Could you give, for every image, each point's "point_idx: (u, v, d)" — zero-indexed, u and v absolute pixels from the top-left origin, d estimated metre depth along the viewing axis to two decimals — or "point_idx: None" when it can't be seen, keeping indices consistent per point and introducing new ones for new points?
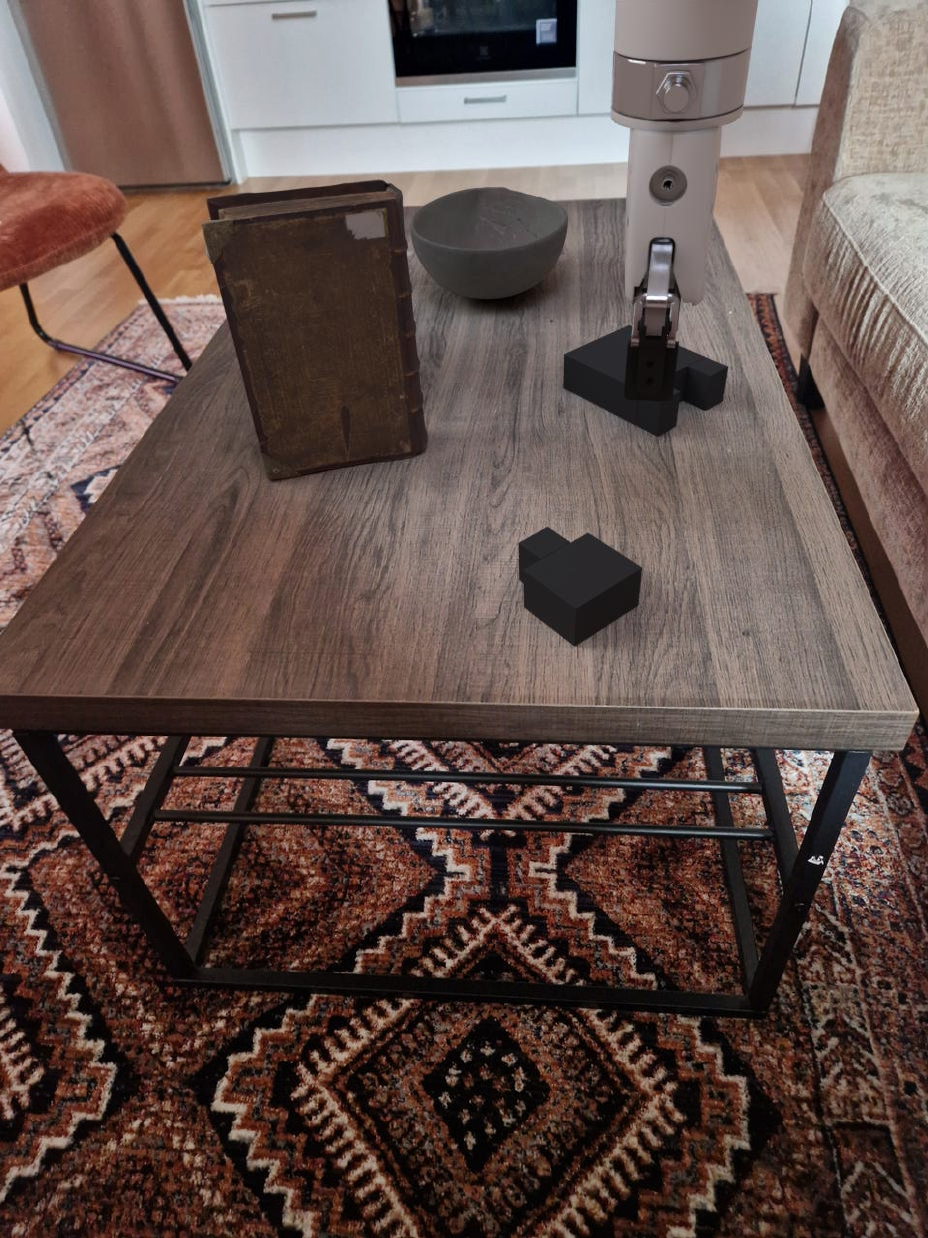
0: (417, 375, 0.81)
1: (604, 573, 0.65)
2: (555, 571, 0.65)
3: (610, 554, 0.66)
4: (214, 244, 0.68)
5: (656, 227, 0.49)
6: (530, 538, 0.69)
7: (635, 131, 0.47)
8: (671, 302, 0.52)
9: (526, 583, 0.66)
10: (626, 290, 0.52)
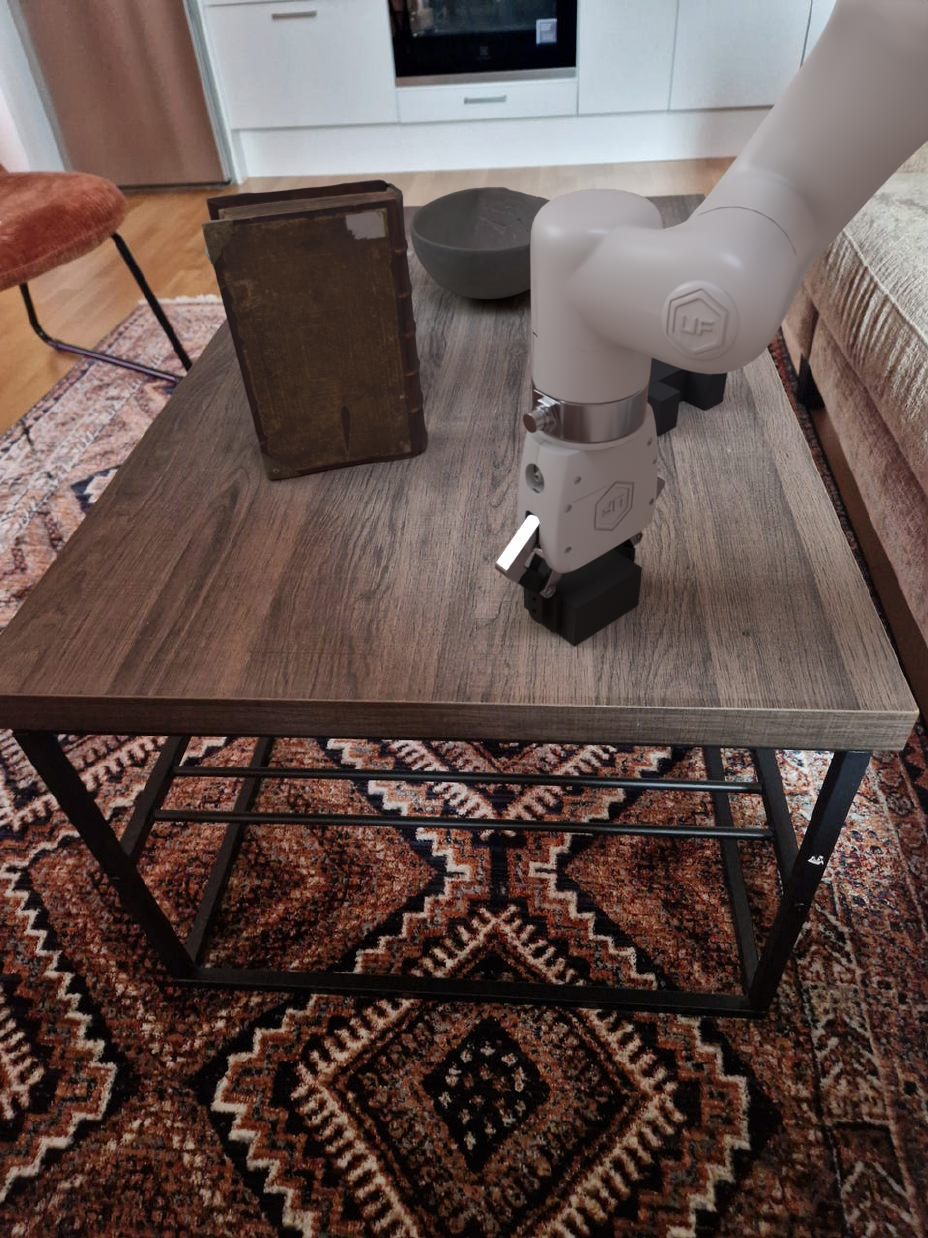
0: (417, 375, 0.81)
1: (604, 574, 0.65)
2: None
3: (610, 554, 0.66)
4: (214, 244, 0.68)
5: (528, 503, 0.58)
6: None
7: None
8: None
9: None
10: None
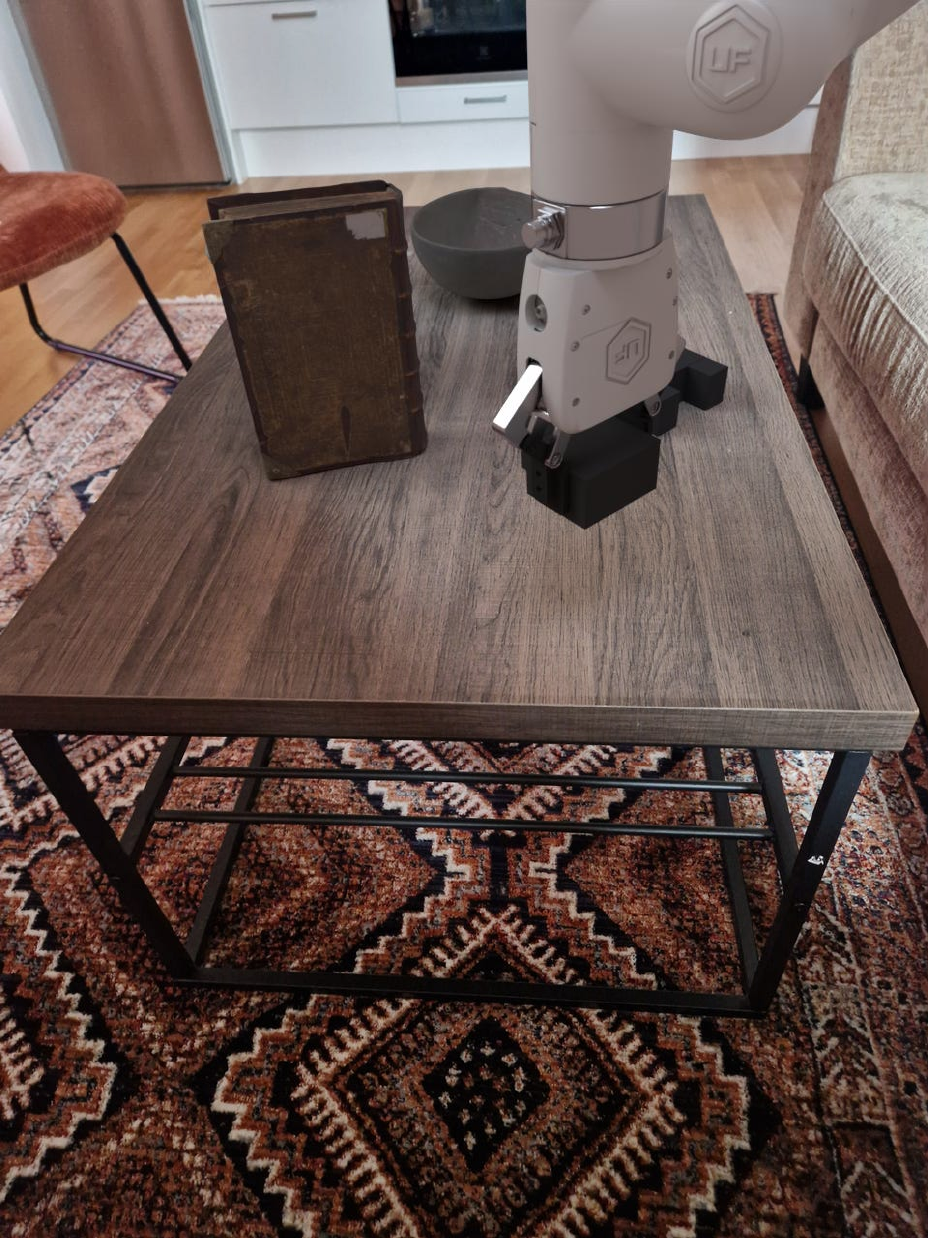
0: (417, 375, 0.81)
1: (618, 446, 0.57)
2: None
3: (624, 428, 0.58)
4: (214, 244, 0.68)
5: (529, 348, 0.50)
6: None
7: (529, 254, 0.48)
8: (555, 426, 0.53)
9: (529, 462, 0.58)
10: None
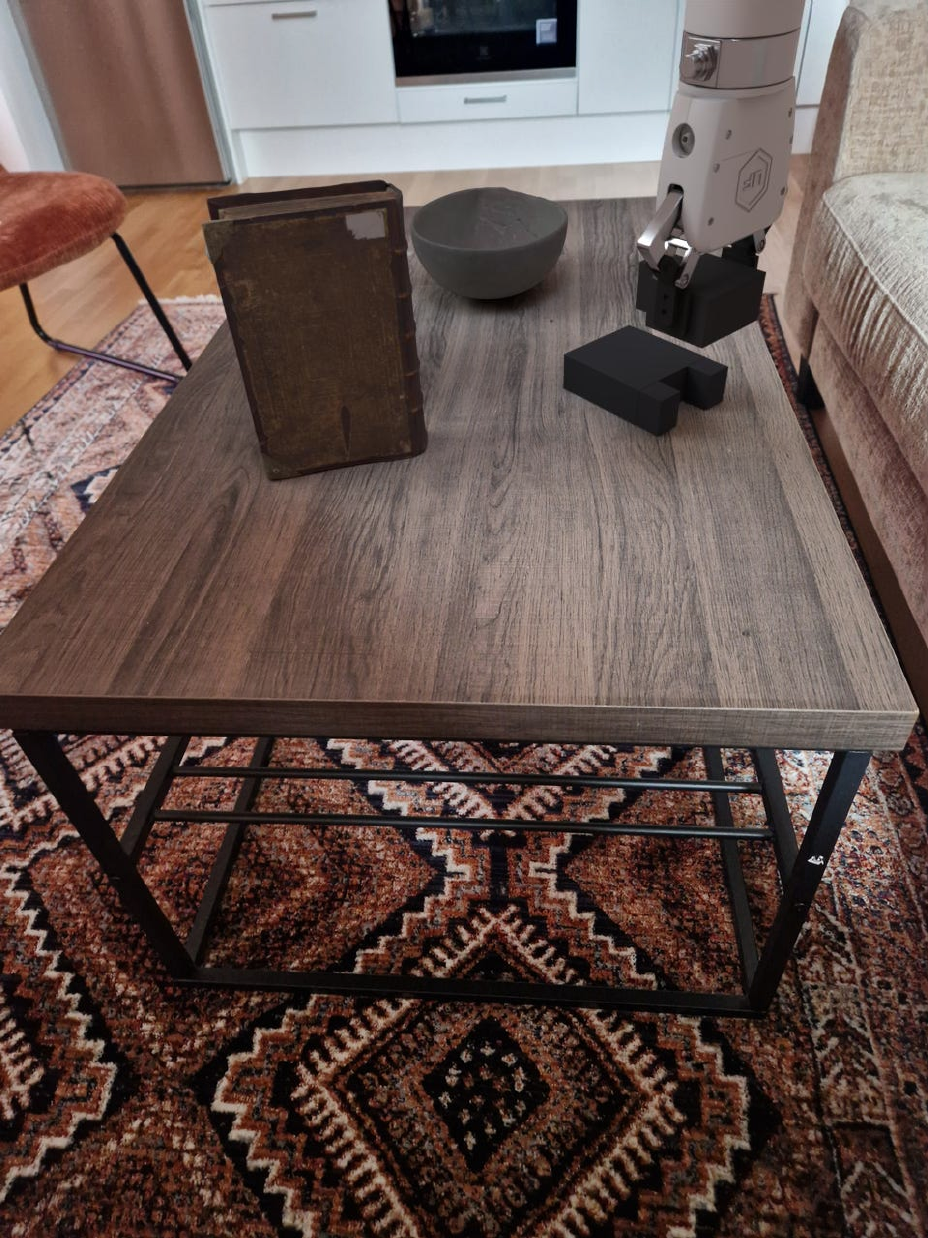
0: (417, 375, 0.81)
1: (730, 276, 0.66)
2: None
3: (733, 265, 0.68)
4: (214, 244, 0.68)
5: (673, 174, 0.59)
6: None
7: (677, 91, 0.58)
8: (686, 249, 0.63)
9: (651, 293, 0.68)
10: None
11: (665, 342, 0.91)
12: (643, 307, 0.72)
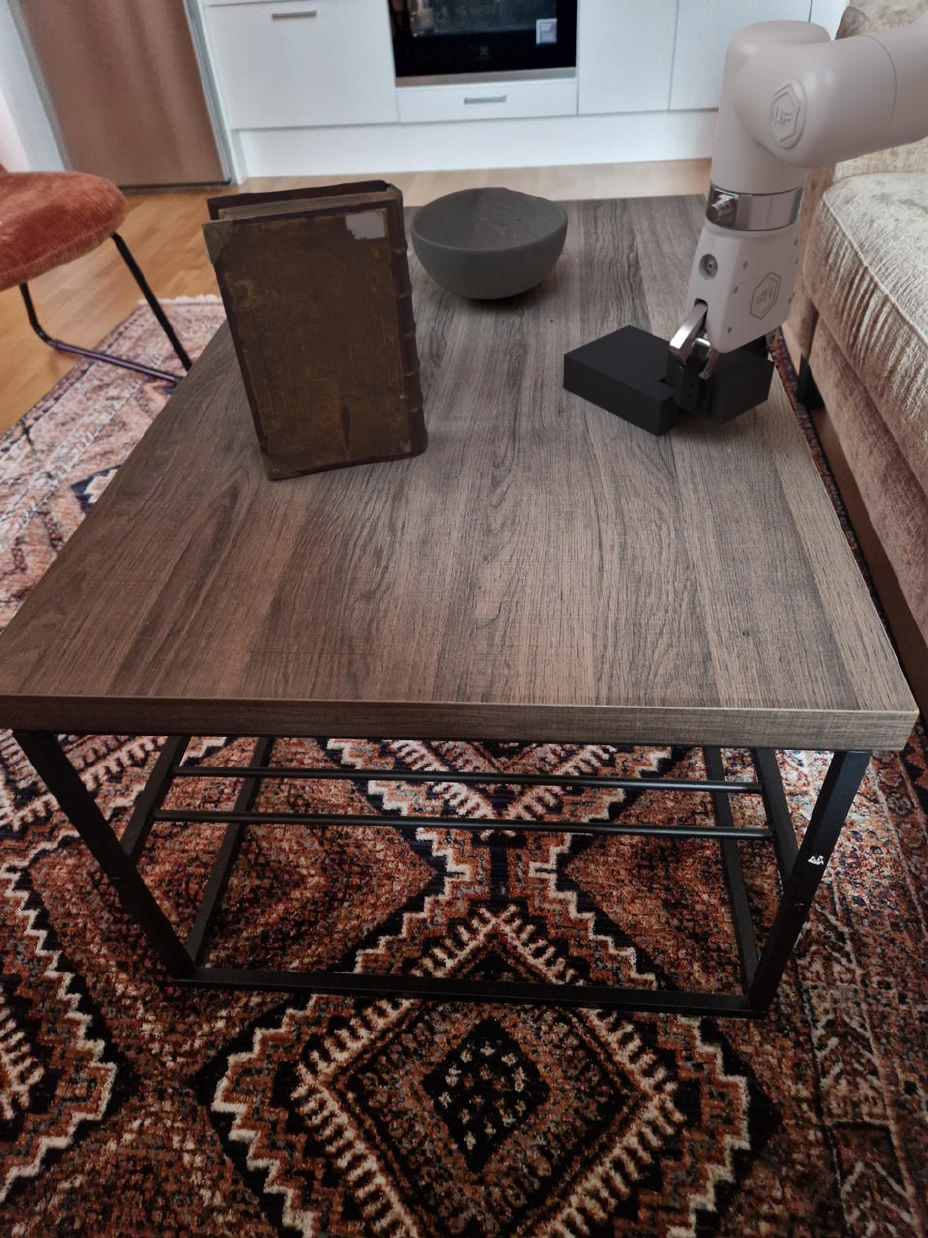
0: (417, 375, 0.81)
1: (745, 366, 0.80)
2: None
3: (747, 354, 0.81)
4: (214, 244, 0.68)
5: (699, 291, 0.73)
6: None
7: (704, 226, 0.71)
8: (709, 348, 0.76)
9: (678, 378, 0.81)
10: None
11: (665, 342, 0.91)
12: (671, 385, 0.85)
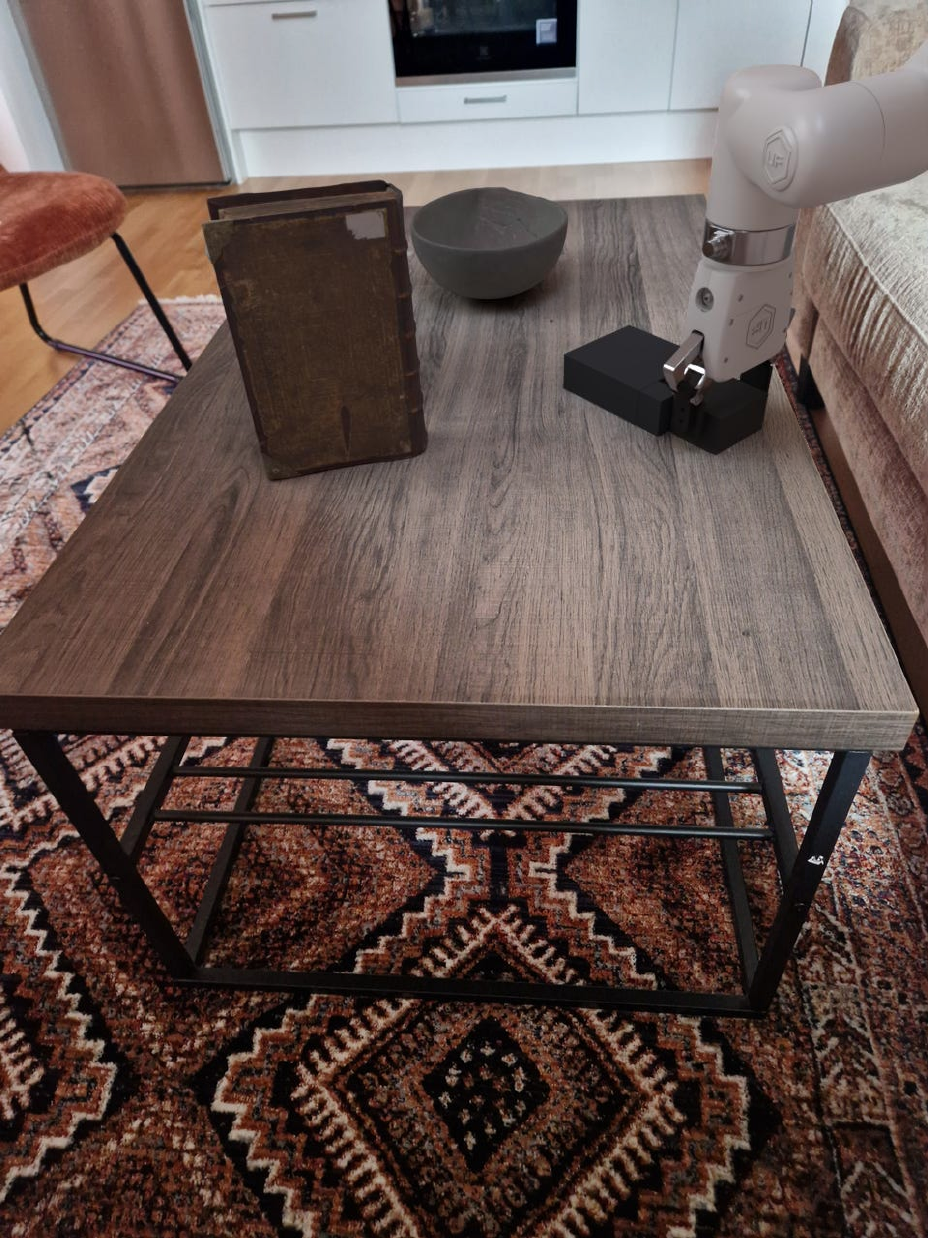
0: (417, 375, 0.81)
1: (739, 397, 0.82)
2: None
3: (741, 385, 0.84)
4: (214, 244, 0.68)
5: (696, 323, 0.75)
6: None
7: (700, 260, 0.73)
8: (703, 374, 0.77)
9: None
10: None
11: (665, 342, 0.91)
12: None
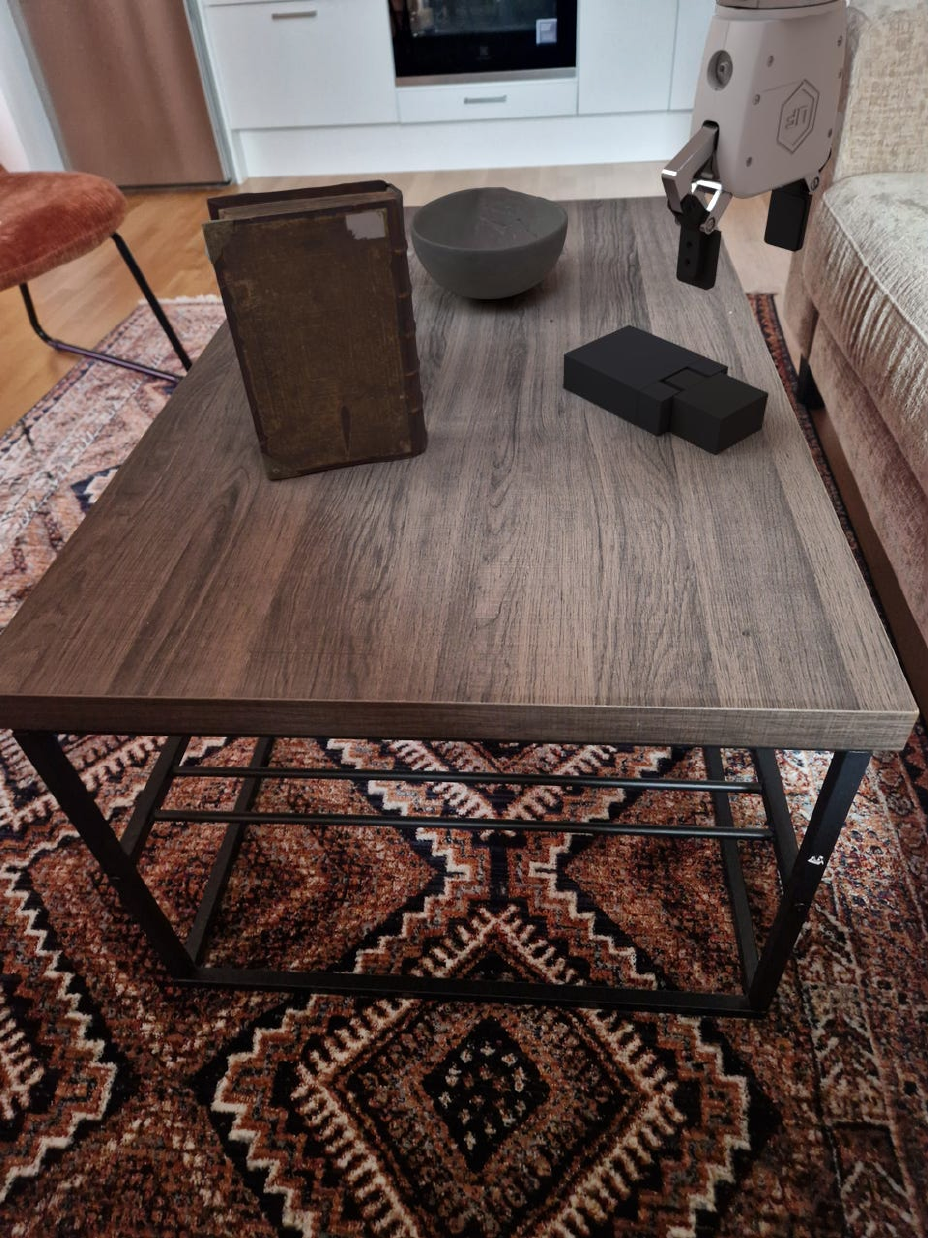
0: (417, 375, 0.81)
1: (739, 397, 0.82)
2: (699, 396, 0.83)
3: (741, 385, 0.84)
4: (214, 244, 0.68)
5: (707, 109, 0.54)
6: (674, 376, 0.86)
7: (714, 16, 0.52)
8: (717, 189, 0.56)
9: (674, 408, 0.84)
10: None
11: (665, 342, 0.91)
12: None
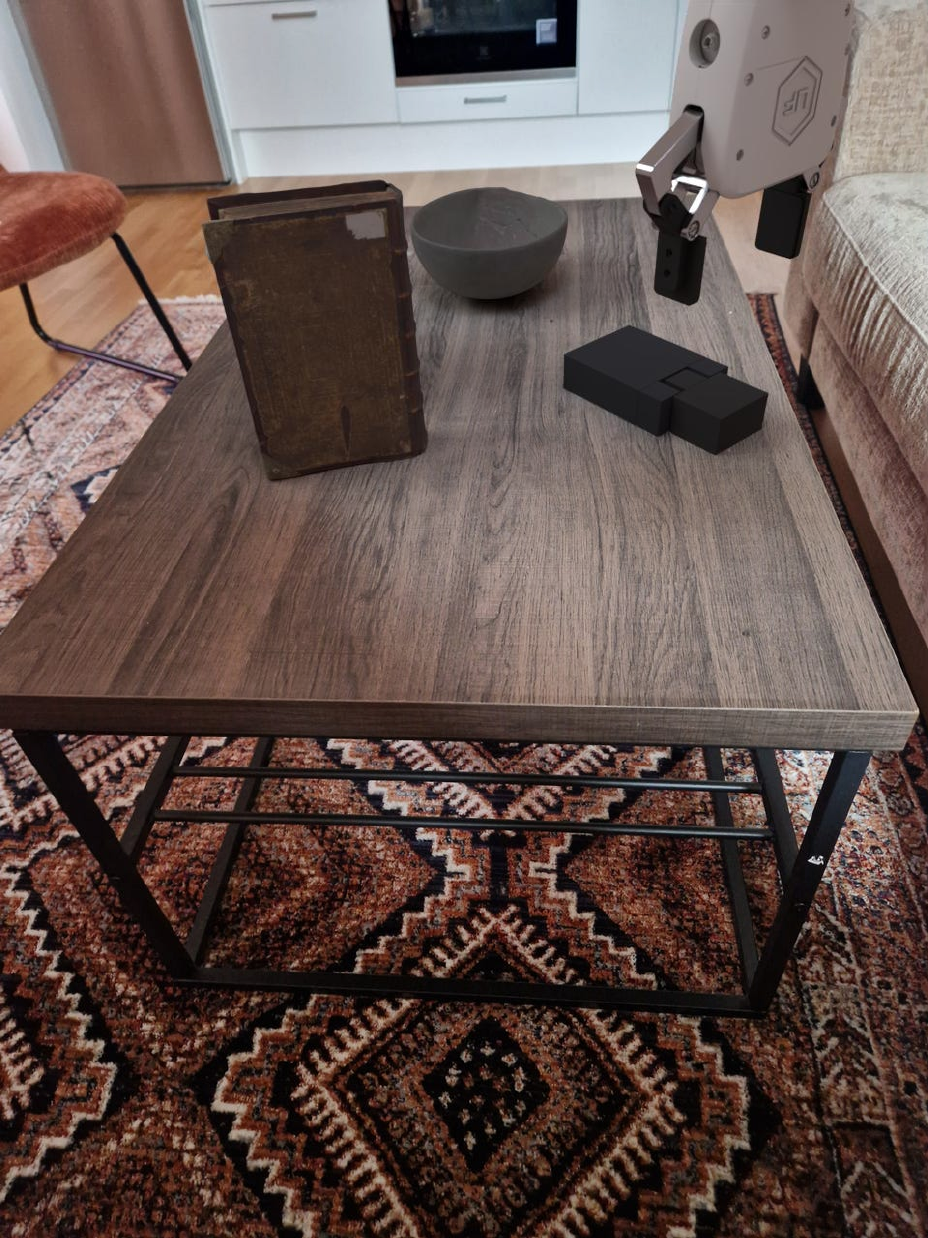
0: (417, 375, 0.81)
1: (739, 397, 0.82)
2: (699, 396, 0.83)
3: (741, 385, 0.84)
4: (214, 244, 0.68)
5: (690, 91, 0.45)
6: (674, 376, 0.86)
7: None
8: (702, 187, 0.47)
9: (674, 408, 0.84)
10: None
11: (665, 342, 0.91)
12: None
